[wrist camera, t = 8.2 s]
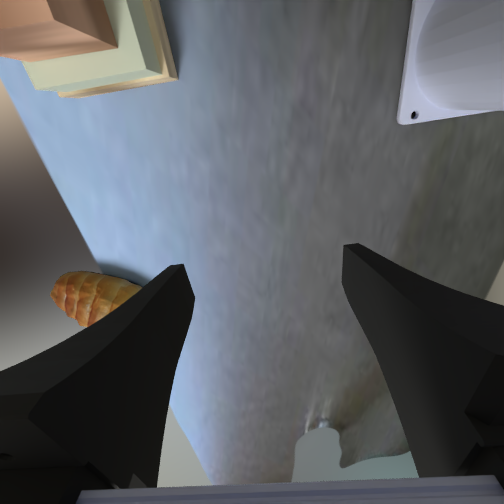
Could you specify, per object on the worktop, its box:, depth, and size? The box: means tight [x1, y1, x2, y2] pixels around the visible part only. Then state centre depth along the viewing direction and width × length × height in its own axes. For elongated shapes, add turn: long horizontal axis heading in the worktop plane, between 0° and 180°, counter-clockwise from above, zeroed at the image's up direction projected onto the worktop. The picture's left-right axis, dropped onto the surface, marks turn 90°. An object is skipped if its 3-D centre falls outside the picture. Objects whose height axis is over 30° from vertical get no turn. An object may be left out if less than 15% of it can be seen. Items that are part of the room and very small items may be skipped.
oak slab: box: [57, 0, 178, 98], centre depth 14 cm, size 7×7×2 cm
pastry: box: [50, 271, 142, 327], centre depth 24 cm, size 9×7×4 cm
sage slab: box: [22, 0, 162, 92], centre depth 12 cm, size 6×6×2 cm
